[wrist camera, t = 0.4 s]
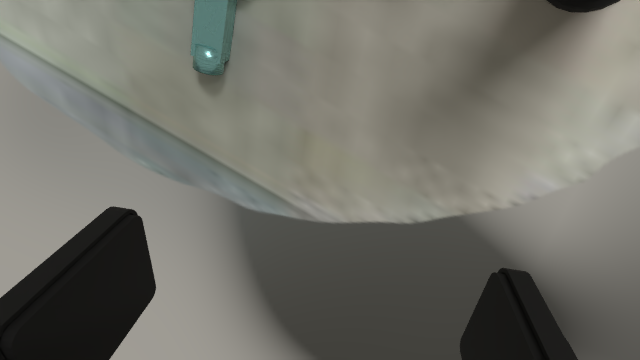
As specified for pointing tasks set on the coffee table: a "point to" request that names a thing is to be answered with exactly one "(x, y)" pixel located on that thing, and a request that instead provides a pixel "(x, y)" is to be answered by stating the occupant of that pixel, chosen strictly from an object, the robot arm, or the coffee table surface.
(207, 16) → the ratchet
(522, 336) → the robot arm
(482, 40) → the coffee table surface
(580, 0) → the handle grip
